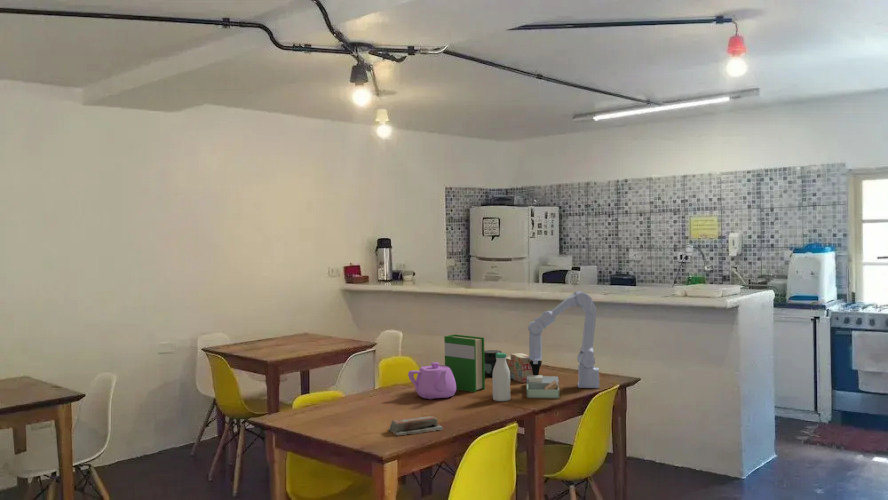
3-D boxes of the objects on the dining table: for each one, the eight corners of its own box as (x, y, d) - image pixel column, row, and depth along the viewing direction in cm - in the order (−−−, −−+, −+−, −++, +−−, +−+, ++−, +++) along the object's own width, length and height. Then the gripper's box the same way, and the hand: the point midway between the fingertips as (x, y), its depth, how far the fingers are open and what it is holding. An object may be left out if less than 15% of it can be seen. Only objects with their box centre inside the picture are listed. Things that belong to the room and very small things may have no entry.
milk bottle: (509, 401, 305) (508, 355, 305) (491, 401, 307) (490, 354, 306) (511, 397, 313) (510, 352, 312) (494, 397, 314) (493, 351, 314)
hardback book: (484, 389, 330) (484, 337, 329) (475, 392, 324) (474, 339, 324) (455, 384, 341) (454, 334, 341) (445, 387, 336) (444, 336, 335)
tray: (558, 392, 322) (558, 384, 322) (559, 398, 310) (559, 390, 310) (527, 391, 324) (527, 383, 324) (526, 397, 312) (526, 389, 312)
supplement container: (506, 374, 364) (506, 350, 363) (496, 378, 355) (496, 353, 354) (488, 372, 369) (488, 349, 369) (478, 376, 360) (477, 352, 360)
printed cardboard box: (502, 375, 363) (502, 350, 362) (514, 373, 365) (513, 349, 364) (521, 383, 343) (521, 357, 342) (533, 382, 345) (533, 356, 344)
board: (557, 384, 337) (557, 376, 337) (559, 392, 322) (558, 383, 322) (526, 384, 339) (526, 376, 338) (526, 391, 324) (526, 382, 324)
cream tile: (542, 379, 331) (542, 375, 330) (542, 382, 325) (542, 377, 325) (529, 379, 331) (529, 374, 331) (529, 382, 325) (529, 377, 325)
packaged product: (397, 424, 256) (387, 418, 265) (397, 437, 256) (388, 431, 266) (443, 418, 264) (432, 412, 273) (443, 431, 264) (432, 424, 273)
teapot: (404, 394, 322) (403, 361, 322) (448, 390, 328) (448, 358, 328) (417, 406, 300) (416, 370, 300) (464, 401, 307) (464, 366, 306)
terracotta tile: (558, 383, 322) (555, 379, 322) (558, 386, 316) (555, 382, 316) (547, 390, 322) (544, 387, 322) (547, 393, 316) (544, 390, 316)
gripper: (527, 344, 339) (527, 373, 340) (526, 350, 325) (526, 379, 325) (542, 345, 338) (542, 373, 339) (542, 350, 324) (542, 380, 324)
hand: (535, 376), depth 332 cm, fingers closed
